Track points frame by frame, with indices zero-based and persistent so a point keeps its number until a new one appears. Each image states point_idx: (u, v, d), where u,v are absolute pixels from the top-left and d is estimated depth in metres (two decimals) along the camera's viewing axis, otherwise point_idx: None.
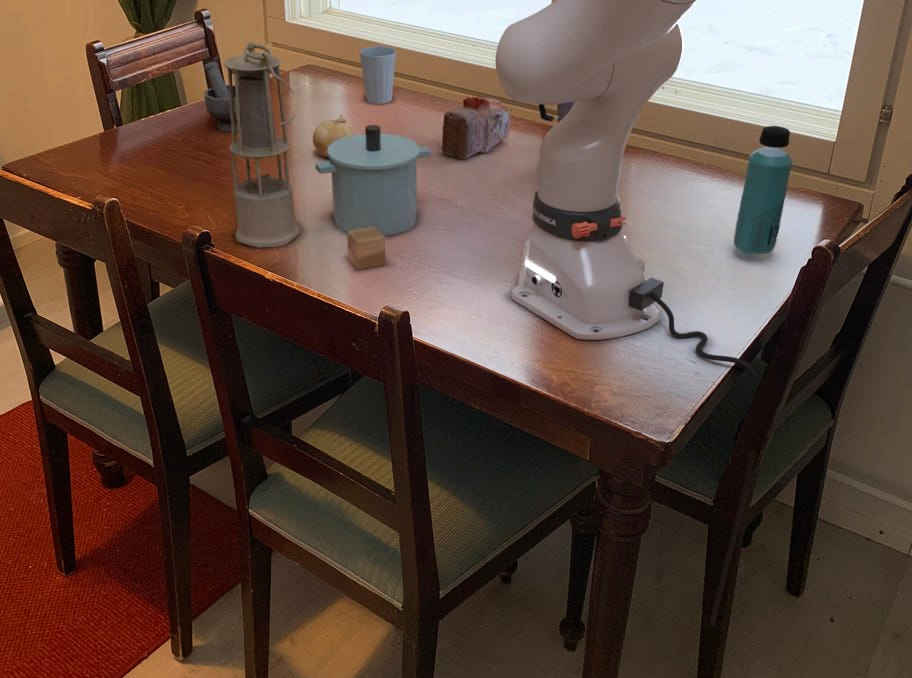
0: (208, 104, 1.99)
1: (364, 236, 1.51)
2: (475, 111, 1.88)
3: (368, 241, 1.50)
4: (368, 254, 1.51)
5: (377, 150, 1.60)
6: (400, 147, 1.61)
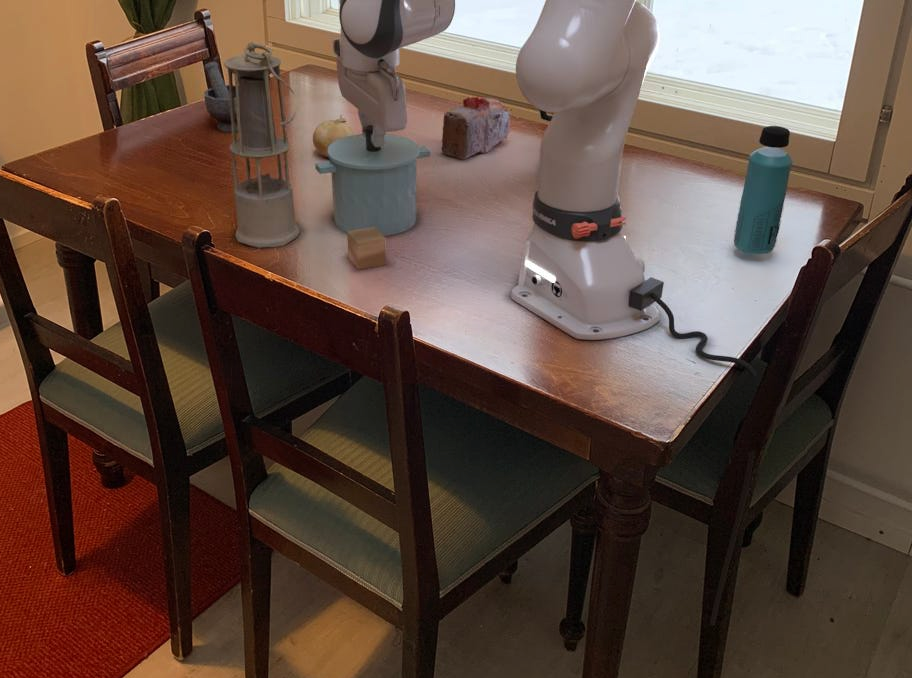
0: (208, 104, 1.99)
1: (364, 236, 1.51)
2: (475, 111, 1.88)
3: (368, 241, 1.50)
4: (368, 254, 1.51)
5: (377, 150, 1.60)
6: (400, 147, 1.61)
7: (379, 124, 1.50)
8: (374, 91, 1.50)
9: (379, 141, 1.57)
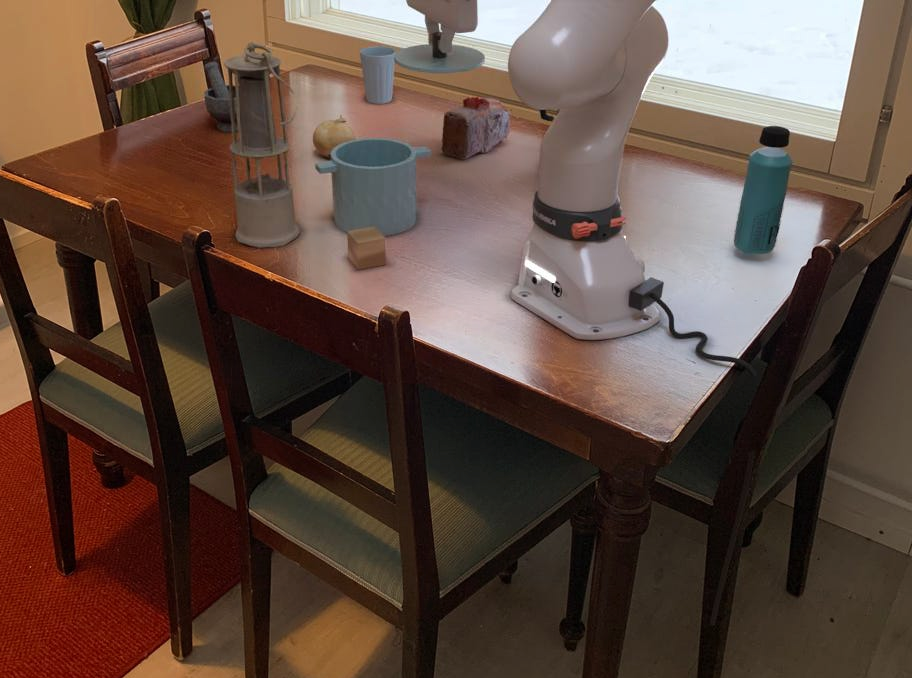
0: (208, 104, 1.99)
1: (364, 236, 1.51)
2: (475, 111, 1.88)
3: (368, 241, 1.50)
4: (368, 254, 1.51)
5: (444, 57, 1.62)
6: (466, 55, 1.63)
7: (450, 26, 1.53)
8: None
9: (447, 46, 1.60)
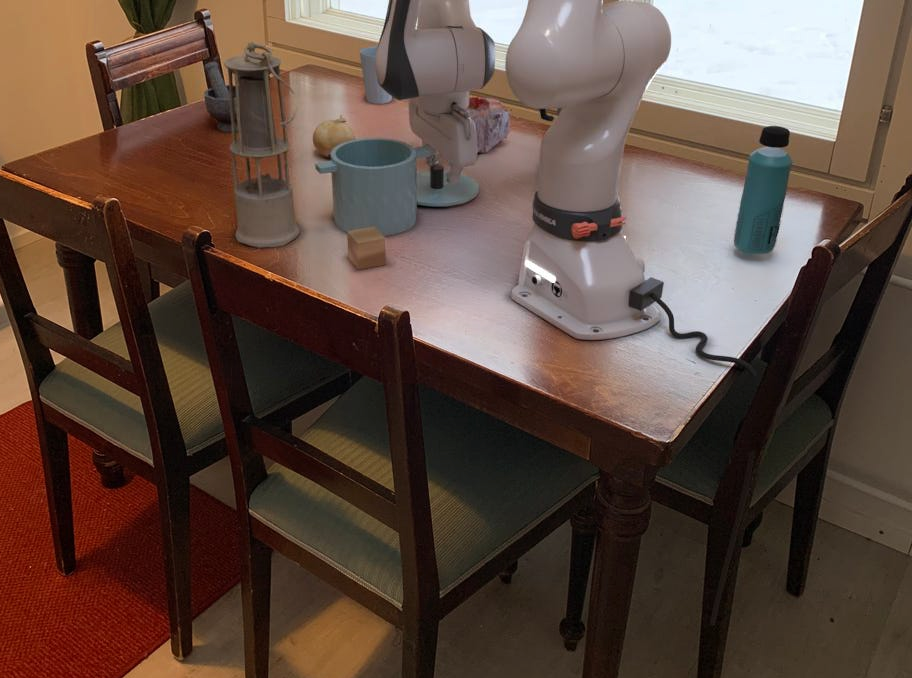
0: (208, 104, 1.99)
1: (364, 236, 1.51)
2: (475, 111, 1.88)
3: (368, 241, 1.50)
4: (368, 254, 1.51)
5: (441, 188, 1.75)
6: (461, 184, 1.77)
7: (451, 160, 1.66)
8: (447, 130, 1.65)
9: (455, 179, 1.71)
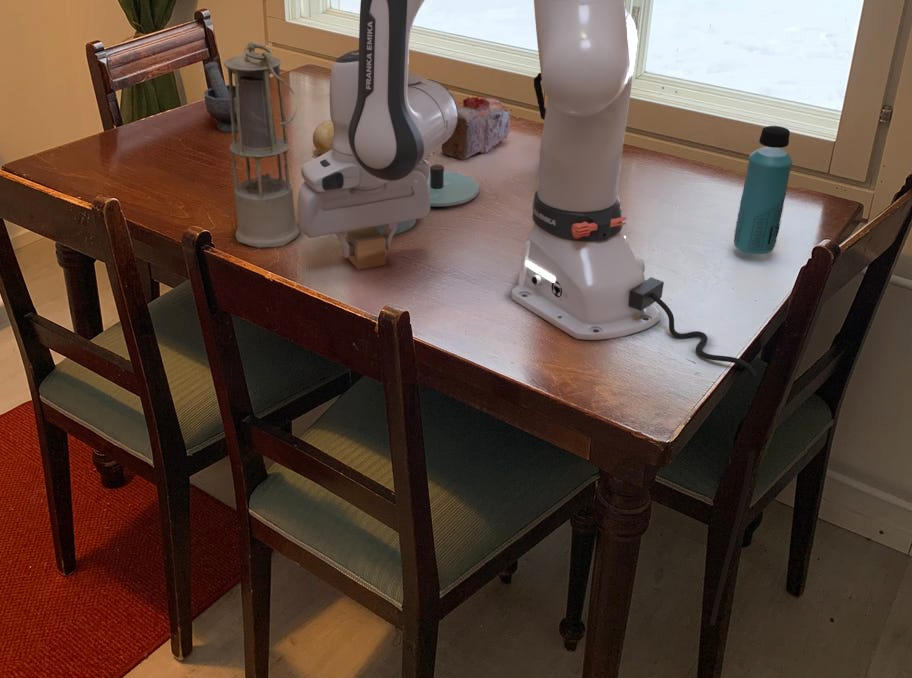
0: (208, 104, 1.99)
1: (364, 236, 1.51)
2: (475, 111, 1.88)
3: (368, 241, 1.50)
4: (368, 254, 1.51)
5: (441, 188, 1.75)
6: (461, 184, 1.77)
7: (415, 215, 1.52)
8: (400, 190, 1.49)
9: None
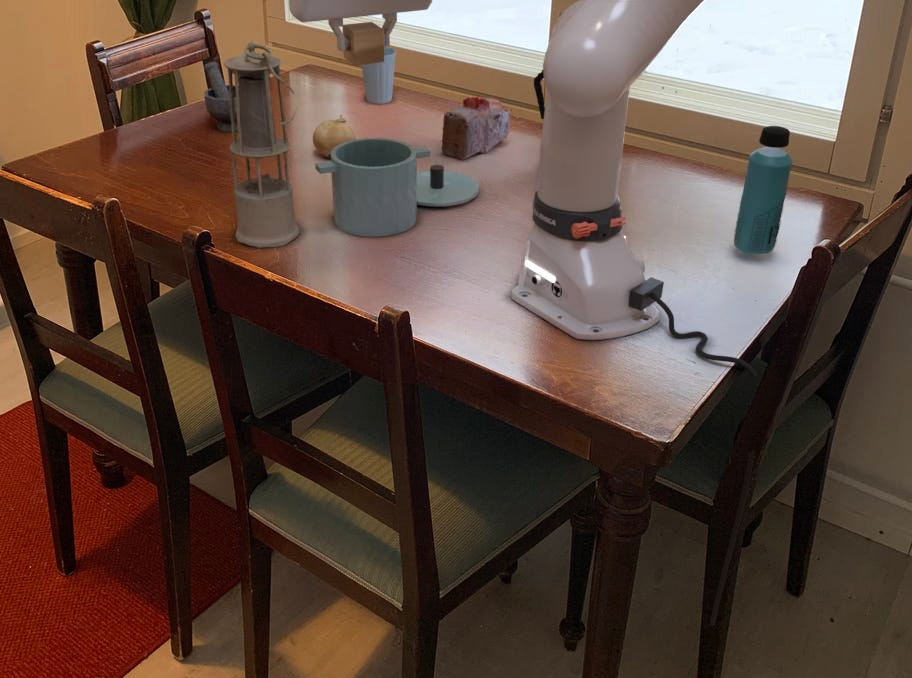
0: (208, 104, 1.99)
1: (361, 28, 1.40)
2: (475, 111, 1.88)
3: (365, 32, 1.39)
4: (365, 47, 1.40)
5: (441, 188, 1.75)
6: (461, 184, 1.77)
7: (416, 6, 1.40)
8: None
9: None
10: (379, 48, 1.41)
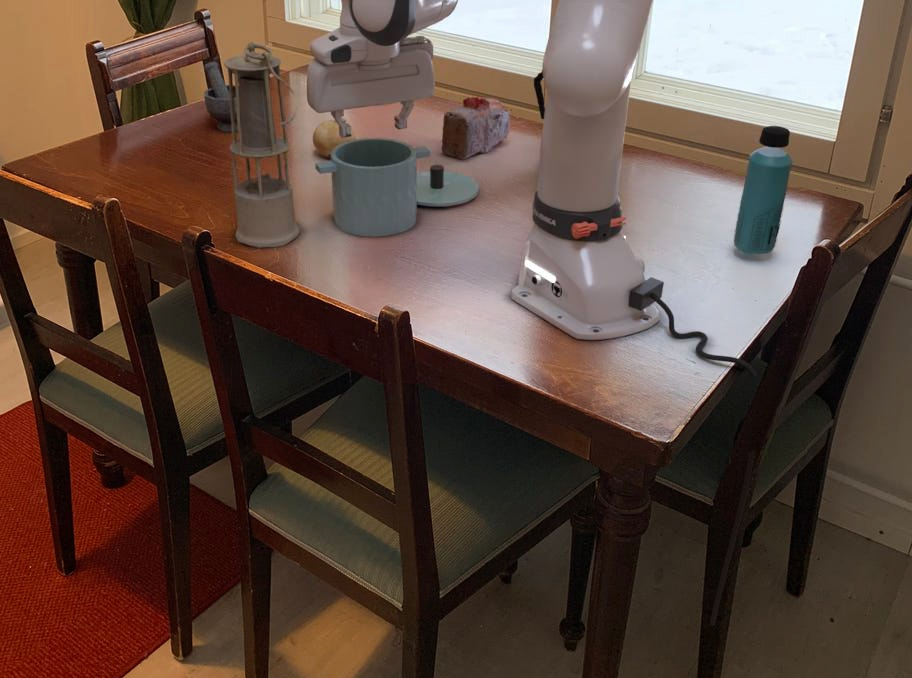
0: (208, 104, 1.99)
1: None
2: (475, 111, 1.88)
3: None
4: None
5: (441, 188, 1.75)
6: (461, 184, 1.77)
7: (420, 95, 1.57)
8: (406, 68, 1.54)
9: None
10: None
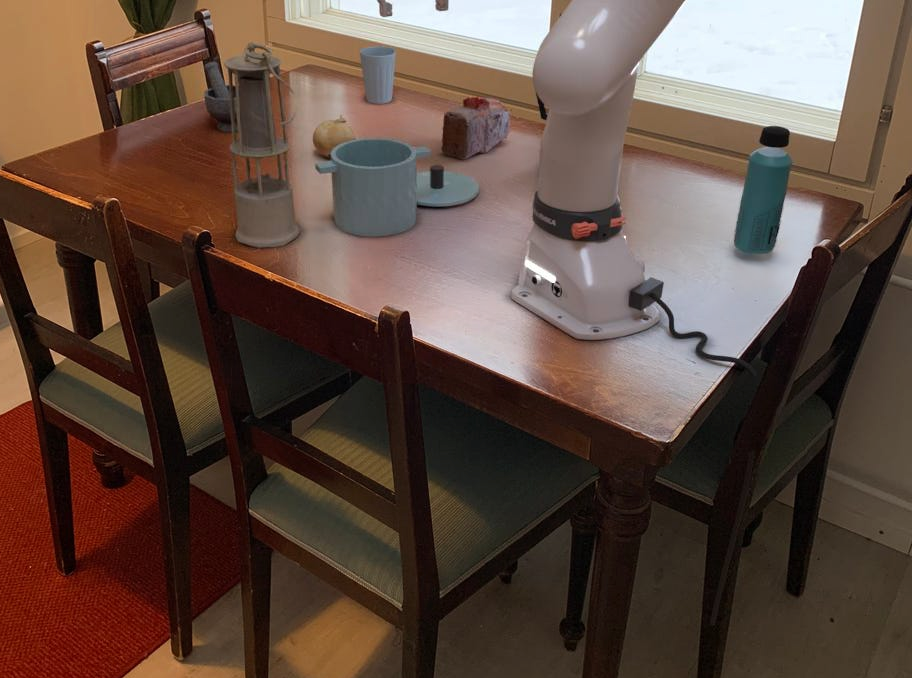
0: (208, 104, 1.99)
1: None
2: (475, 111, 1.88)
3: None
4: None
5: (441, 188, 1.75)
6: (461, 184, 1.77)
7: None
8: None
9: None
10: None
